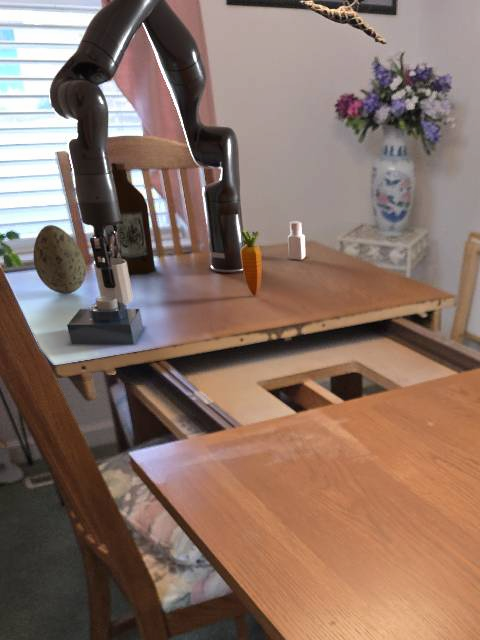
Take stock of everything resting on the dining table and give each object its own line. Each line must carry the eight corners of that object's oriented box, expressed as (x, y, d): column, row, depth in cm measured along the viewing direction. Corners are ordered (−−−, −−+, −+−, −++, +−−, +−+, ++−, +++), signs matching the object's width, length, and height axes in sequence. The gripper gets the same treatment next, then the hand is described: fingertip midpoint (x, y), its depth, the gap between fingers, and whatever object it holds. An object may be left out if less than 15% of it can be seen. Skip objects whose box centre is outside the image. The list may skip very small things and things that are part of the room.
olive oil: (114, 265, 188) (94, 160, 174) (156, 263, 191) (139, 159, 177) (115, 276, 180) (94, 166, 166) (158, 273, 183) (141, 166, 169)
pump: (95, 311, 140) (92, 301, 139) (99, 305, 143) (97, 295, 142) (116, 311, 141) (113, 301, 139) (120, 305, 144) (118, 295, 143)
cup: (105, 296, 155) (97, 257, 150) (135, 296, 155) (128, 258, 151) (98, 304, 150) (90, 265, 145) (129, 304, 150) (122, 265, 146)
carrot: (267, 293, 173) (262, 227, 164) (261, 299, 169) (256, 232, 160) (247, 292, 173) (241, 226, 164) (241, 298, 169) (234, 231, 160)
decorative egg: (40, 301, 162) (22, 231, 153) (43, 287, 170) (26, 221, 161) (90, 298, 165) (75, 229, 156) (91, 285, 173) (77, 219, 164)
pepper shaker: (288, 259, 200) (286, 223, 194) (292, 256, 203) (290, 220, 197) (302, 260, 199) (300, 224, 194) (306, 257, 202) (304, 221, 197)
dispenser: (71, 344, 140) (64, 314, 137) (84, 327, 148) (77, 299, 145) (133, 344, 142) (128, 314, 138) (143, 327, 150) (137, 299, 146)
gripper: (108, 204, 135) (125, 292, 145) (124, 191, 147) (138, 274, 157) (67, 203, 135) (87, 292, 144) (86, 190, 146) (103, 273, 156)
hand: (114, 282), depth 150 cm, fingers closed on cup, 6 cm apart
